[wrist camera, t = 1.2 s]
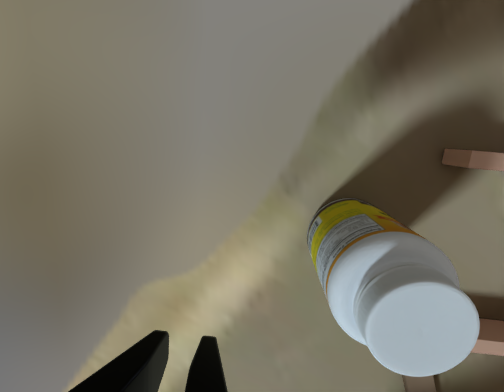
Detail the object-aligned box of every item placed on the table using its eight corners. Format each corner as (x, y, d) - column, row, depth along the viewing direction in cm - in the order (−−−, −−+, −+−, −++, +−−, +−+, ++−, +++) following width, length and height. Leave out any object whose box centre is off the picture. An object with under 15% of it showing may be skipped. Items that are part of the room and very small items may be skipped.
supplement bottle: (397, 249, 20) (528, 364, 10) (325, 281, 21) (380, 417, 11) (365, 181, 19) (474, 231, 9) (291, 217, 20) (316, 300, 10)
